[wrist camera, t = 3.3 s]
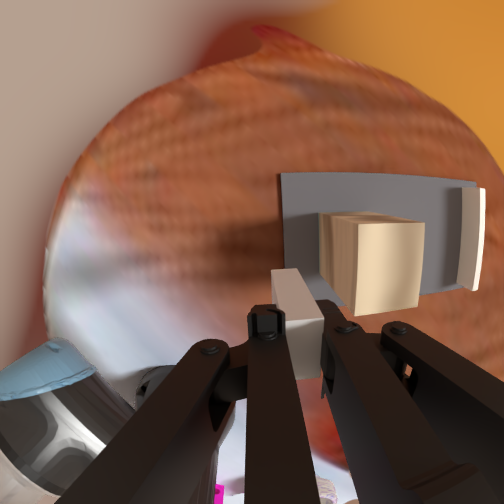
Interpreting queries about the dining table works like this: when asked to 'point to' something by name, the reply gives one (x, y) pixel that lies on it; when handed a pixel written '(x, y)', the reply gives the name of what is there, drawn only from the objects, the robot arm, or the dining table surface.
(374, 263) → the beech block
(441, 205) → the gray ramp
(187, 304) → the dining table surface
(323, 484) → the paper bowls
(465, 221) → the stop rail
